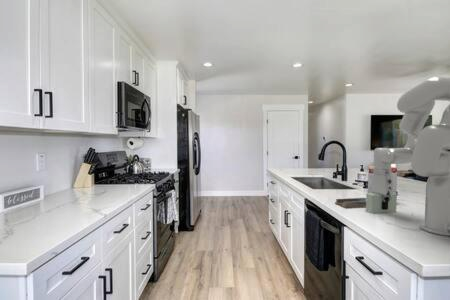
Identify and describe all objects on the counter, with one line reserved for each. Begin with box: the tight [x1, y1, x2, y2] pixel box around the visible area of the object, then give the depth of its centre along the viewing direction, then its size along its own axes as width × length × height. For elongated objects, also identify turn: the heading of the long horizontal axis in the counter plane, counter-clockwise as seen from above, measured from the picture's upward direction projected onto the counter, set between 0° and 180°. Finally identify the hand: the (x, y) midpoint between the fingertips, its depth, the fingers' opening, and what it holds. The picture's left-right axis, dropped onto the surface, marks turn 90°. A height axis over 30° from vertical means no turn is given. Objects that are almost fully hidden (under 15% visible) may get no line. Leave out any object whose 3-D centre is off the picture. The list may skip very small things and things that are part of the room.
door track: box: [334, 197, 366, 209], centre depth 141 cm, size 10×18×3 cm, turn 100°
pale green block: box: [365, 193, 398, 214], centre depth 129 cm, size 4×14×9 cm, turn 100°
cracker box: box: [367, 165, 398, 194], centre depth 148 cm, size 14×6×21 cm, turn 62°
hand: (381, 207), depth 129 cm, fingers closed on pale green block, 4 cm apart
